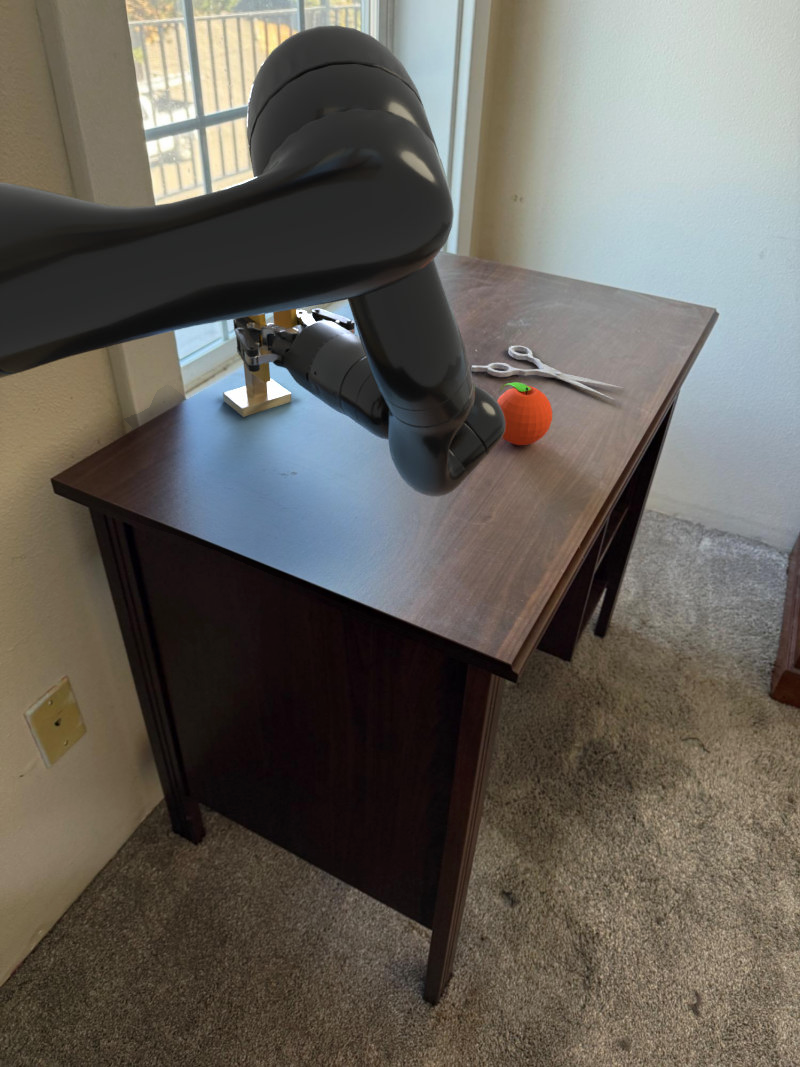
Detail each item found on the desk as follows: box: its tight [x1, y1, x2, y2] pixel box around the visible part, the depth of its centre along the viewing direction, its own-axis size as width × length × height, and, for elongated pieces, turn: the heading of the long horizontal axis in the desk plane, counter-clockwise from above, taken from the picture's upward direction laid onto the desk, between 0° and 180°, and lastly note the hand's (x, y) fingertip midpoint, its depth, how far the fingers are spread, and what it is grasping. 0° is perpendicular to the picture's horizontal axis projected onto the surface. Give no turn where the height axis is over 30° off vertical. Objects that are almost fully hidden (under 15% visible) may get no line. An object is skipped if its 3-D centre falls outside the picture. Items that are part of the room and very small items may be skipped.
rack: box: [222, 361, 293, 418], centre depth 88 cm, size 7×10×18 cm
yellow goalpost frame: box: [248, 308, 298, 383], centre depth 85 cm, size 5×4×11 cm
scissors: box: [471, 345, 624, 401], centre depth 103 cm, size 11×1×20 cm
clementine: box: [496, 381, 553, 446], centre depth 88 cm, size 8×7×7 cm
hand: (258, 315), depth 86 cm, fingers closed on yellow goalpost frame, 4 cm apart
